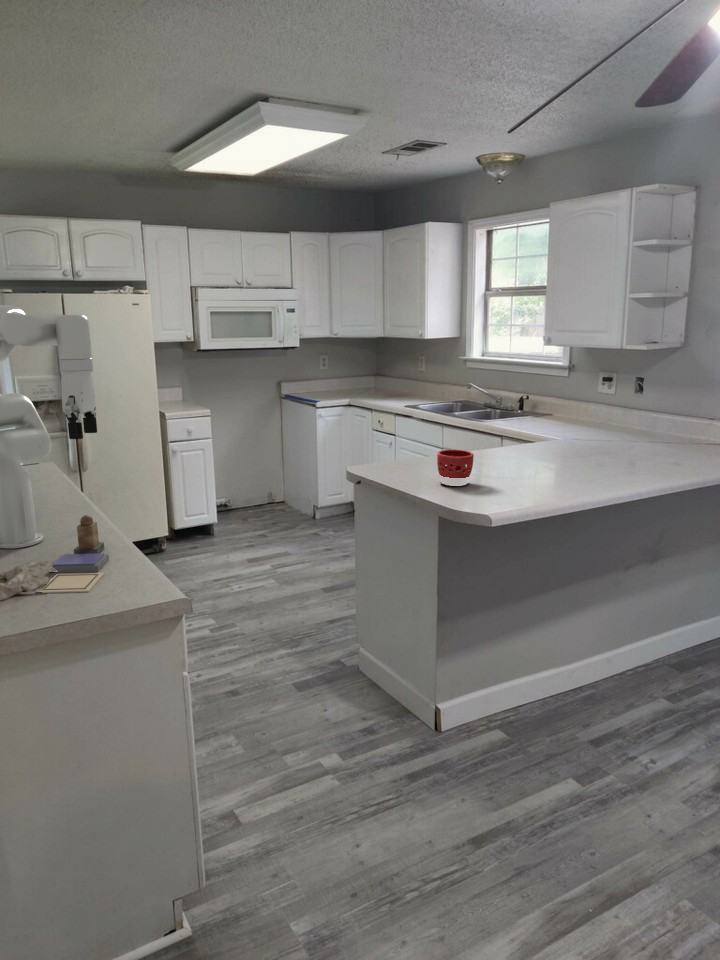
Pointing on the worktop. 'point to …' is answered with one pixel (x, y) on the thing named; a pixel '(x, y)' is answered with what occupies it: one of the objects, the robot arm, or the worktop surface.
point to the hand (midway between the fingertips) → (83, 435)
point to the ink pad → (80, 562)
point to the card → (72, 582)
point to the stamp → (88, 537)
